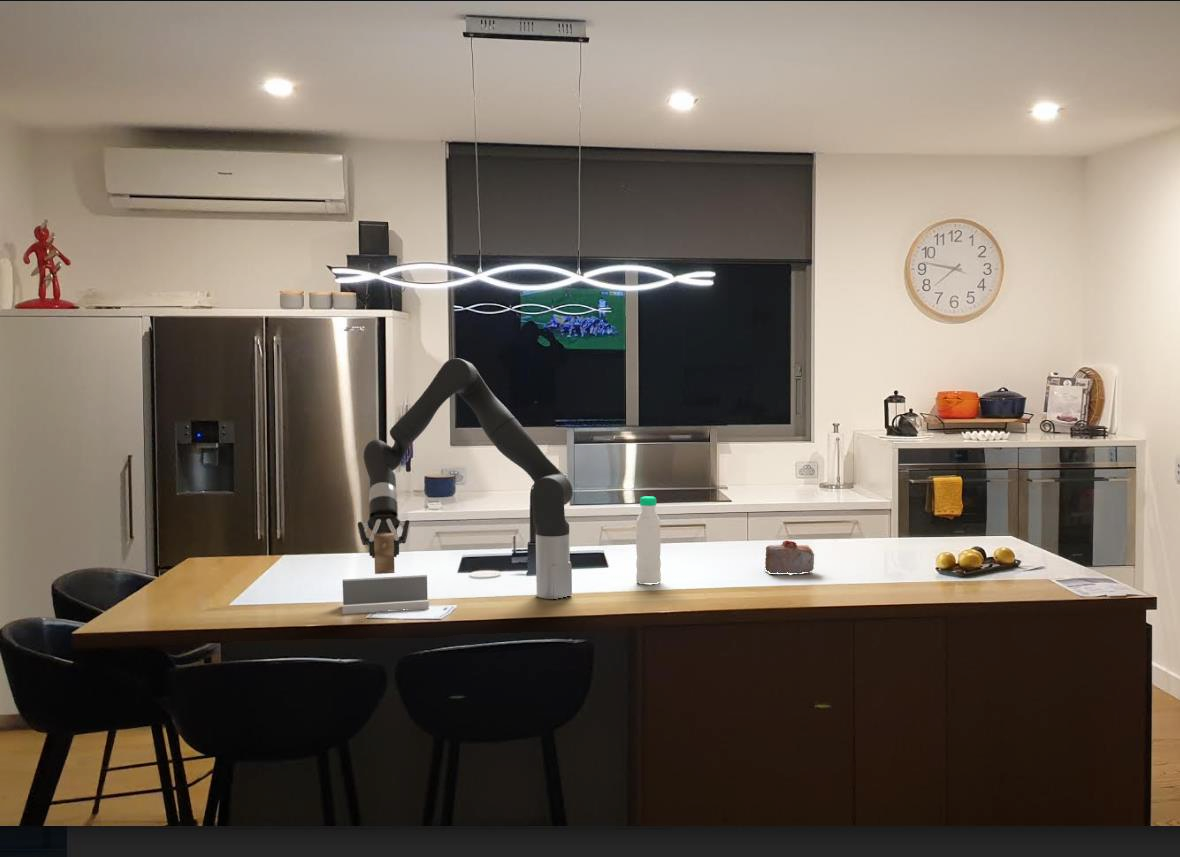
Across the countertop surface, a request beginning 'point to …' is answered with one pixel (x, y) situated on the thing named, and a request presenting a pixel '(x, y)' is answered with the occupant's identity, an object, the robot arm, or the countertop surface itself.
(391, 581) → the grey display ledge
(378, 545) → the walnut cabinet block
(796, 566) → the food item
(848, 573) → the countertop surface
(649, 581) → the water bottle
